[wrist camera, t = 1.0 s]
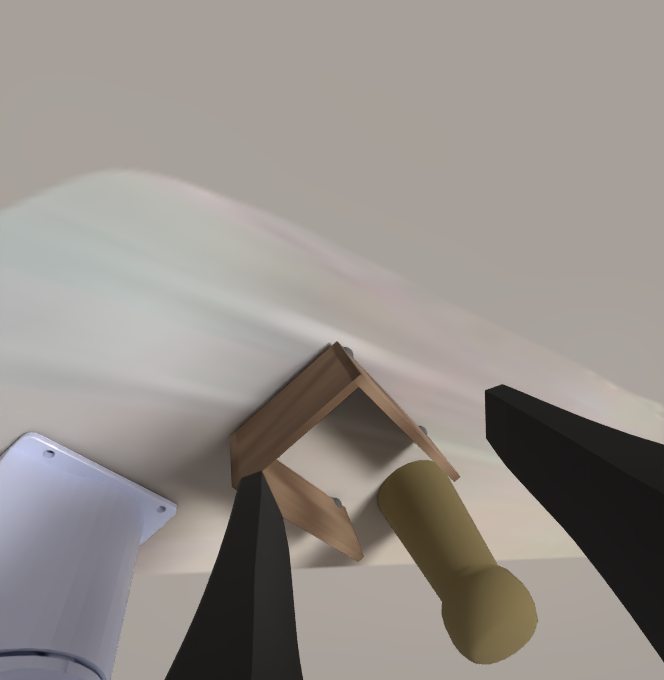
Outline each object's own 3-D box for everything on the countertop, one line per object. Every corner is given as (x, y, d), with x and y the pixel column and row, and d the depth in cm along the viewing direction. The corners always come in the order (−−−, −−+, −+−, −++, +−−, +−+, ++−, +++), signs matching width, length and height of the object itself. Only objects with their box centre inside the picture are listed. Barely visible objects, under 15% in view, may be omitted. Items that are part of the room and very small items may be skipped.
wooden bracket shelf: (226, 435, 22) (228, 490, 18) (338, 335, 21) (364, 370, 18) (336, 509, 27) (355, 564, 23) (428, 431, 27) (463, 474, 23)
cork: (448, 501, 31) (553, 649, 21) (383, 528, 30) (462, 697, 20) (443, 449, 28) (562, 593, 18) (371, 478, 27) (456, 645, 17)
